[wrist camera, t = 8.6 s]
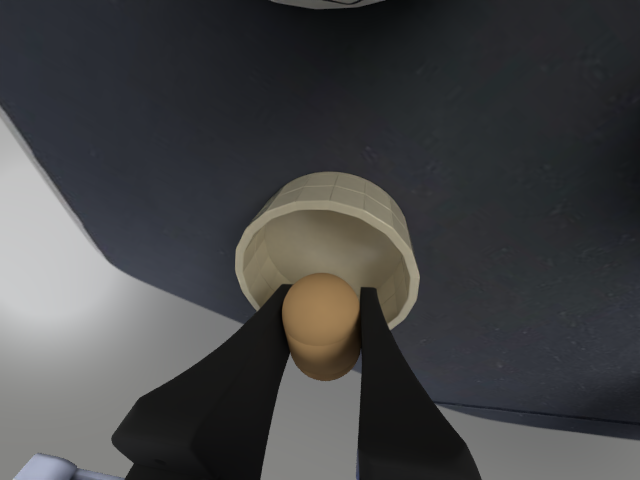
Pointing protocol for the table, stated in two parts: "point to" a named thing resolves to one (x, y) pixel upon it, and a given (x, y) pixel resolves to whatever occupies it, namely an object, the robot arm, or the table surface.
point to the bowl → (331, 242)
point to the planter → (327, 3)
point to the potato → (322, 326)
